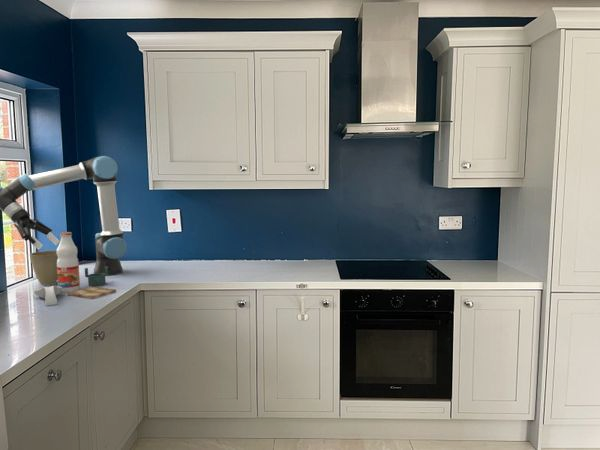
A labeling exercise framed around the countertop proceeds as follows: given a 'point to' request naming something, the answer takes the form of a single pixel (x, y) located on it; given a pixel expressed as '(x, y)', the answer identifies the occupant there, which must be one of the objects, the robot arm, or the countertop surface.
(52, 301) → the spoon rest
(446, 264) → the countertop surface
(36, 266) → the plant pot
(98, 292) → the brown square board
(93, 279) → the bracket
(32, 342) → the countertop surface
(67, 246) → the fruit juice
